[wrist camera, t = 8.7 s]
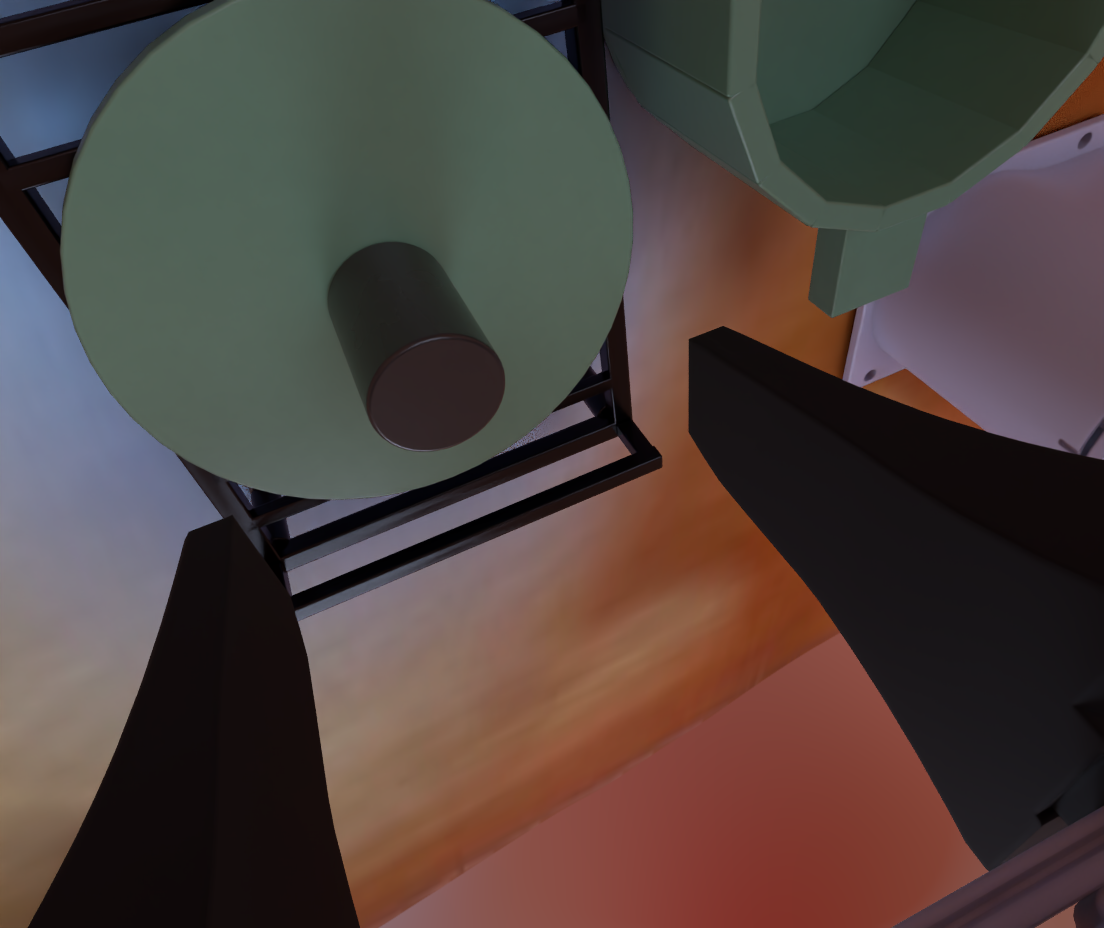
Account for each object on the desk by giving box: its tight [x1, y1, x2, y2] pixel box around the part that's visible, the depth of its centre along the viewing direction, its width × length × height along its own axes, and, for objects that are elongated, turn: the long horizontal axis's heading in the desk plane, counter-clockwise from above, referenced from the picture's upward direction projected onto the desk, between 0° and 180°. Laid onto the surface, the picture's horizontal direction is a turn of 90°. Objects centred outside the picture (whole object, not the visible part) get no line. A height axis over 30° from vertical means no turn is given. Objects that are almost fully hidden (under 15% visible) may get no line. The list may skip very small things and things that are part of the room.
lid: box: [60, 0, 633, 500], centre depth 14 cm, size 11×11×4 cm
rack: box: [0, 0, 662, 621], centre depth 16 cm, size 11×15×4 cm
